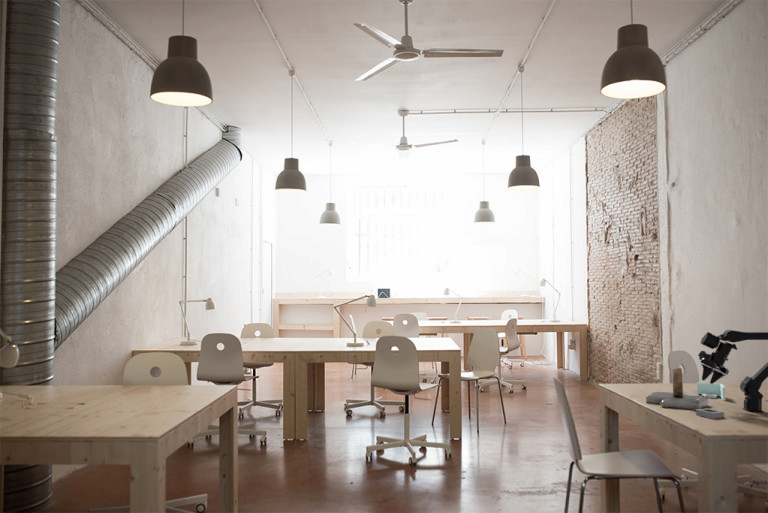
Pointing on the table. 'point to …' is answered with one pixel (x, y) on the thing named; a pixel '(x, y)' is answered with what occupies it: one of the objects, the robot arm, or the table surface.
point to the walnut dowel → (677, 381)
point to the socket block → (710, 413)
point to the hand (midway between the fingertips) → (706, 381)
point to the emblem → (677, 400)
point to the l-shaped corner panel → (711, 390)
